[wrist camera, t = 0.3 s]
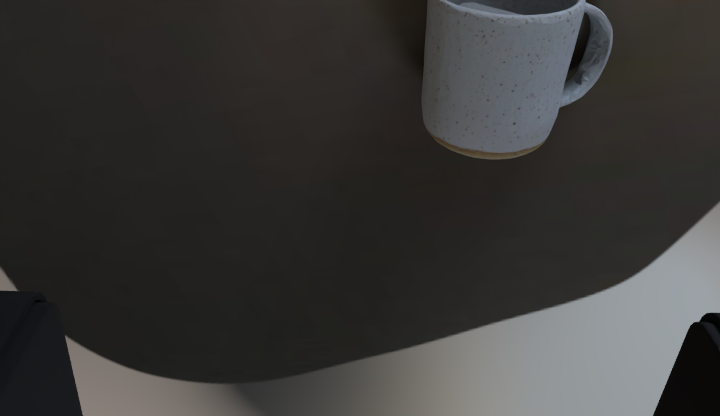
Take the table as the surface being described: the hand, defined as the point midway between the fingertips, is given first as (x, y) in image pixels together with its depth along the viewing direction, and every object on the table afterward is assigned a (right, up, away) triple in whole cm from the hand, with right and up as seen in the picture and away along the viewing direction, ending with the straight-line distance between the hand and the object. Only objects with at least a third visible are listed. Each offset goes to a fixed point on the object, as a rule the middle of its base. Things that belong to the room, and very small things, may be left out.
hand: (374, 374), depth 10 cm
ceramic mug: (+8, +12, +29) cm, 32 cm away
